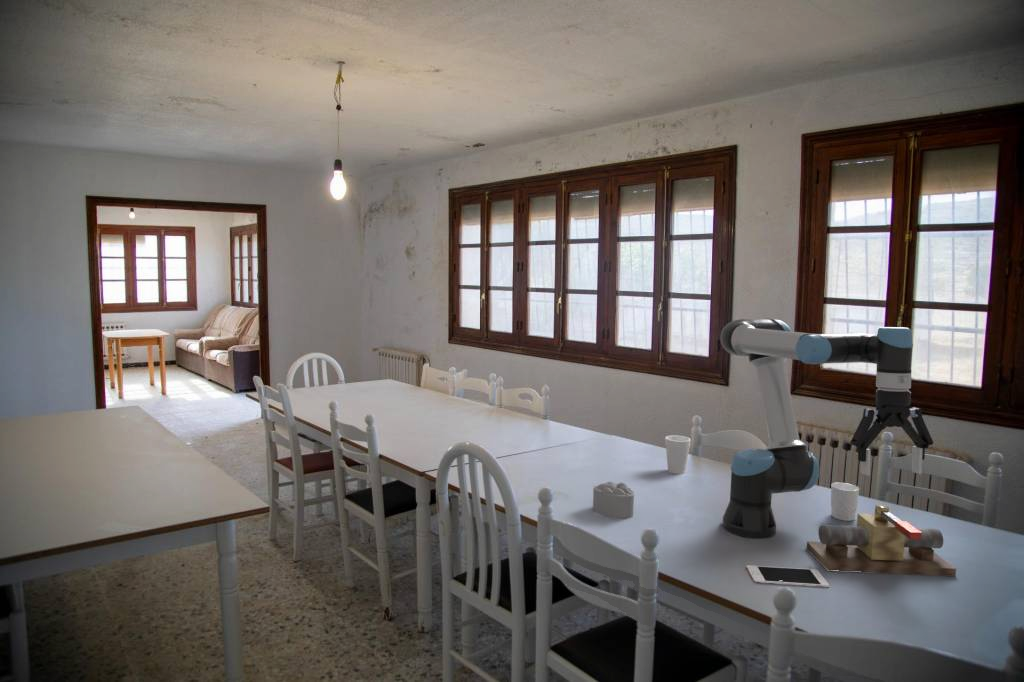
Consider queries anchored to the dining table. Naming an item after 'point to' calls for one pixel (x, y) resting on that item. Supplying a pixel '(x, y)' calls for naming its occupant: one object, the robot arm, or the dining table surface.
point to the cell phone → (787, 575)
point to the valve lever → (896, 522)
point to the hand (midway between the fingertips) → (890, 473)
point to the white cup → (844, 501)
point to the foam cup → (677, 453)
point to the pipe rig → (879, 549)
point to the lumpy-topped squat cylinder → (613, 500)
